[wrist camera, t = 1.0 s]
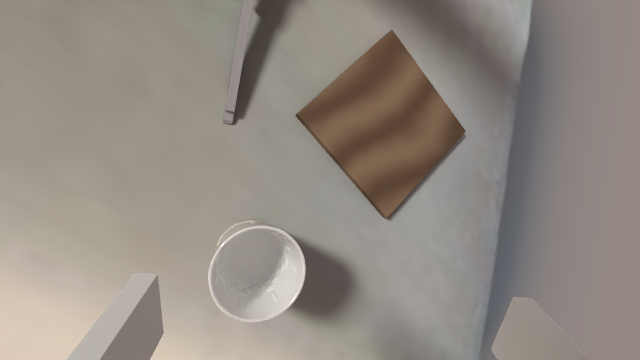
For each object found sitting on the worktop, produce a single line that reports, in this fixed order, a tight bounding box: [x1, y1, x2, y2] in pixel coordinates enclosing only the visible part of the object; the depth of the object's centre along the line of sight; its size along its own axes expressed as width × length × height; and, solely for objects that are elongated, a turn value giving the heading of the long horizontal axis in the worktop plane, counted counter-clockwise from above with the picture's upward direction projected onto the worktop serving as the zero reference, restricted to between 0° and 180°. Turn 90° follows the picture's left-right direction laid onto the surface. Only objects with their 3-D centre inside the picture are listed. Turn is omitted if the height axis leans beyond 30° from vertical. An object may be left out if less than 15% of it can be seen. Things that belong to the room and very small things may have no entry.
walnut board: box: [295, 30, 465, 218], centre depth 40 cm, size 17×17×1 cm
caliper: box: [223, 0, 253, 124], centre depth 32 cm, size 20×1×6 cm, turn 171°
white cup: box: [208, 219, 306, 323], centre depth 30 cm, size 8×8×10 cm
